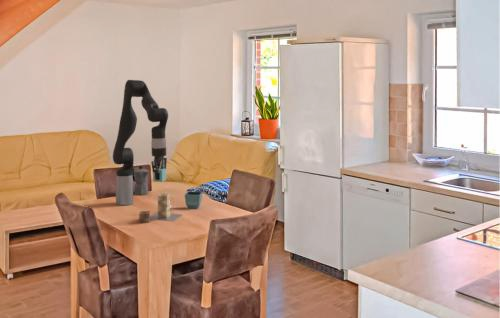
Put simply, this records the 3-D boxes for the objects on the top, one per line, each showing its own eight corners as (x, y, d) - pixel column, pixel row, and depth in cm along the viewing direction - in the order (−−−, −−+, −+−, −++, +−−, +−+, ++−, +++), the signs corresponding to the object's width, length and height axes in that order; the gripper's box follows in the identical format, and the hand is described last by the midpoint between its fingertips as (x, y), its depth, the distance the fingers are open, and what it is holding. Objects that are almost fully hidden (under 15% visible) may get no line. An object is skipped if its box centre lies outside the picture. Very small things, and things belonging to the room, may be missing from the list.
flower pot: (202, 206, 318) (202, 191, 317) (199, 210, 310) (199, 195, 308) (187, 206, 319) (187, 191, 318) (184, 210, 311) (184, 194, 309)
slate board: (144, 221, 287) (144, 219, 286) (155, 214, 300) (155, 212, 300) (173, 223, 283) (173, 221, 282) (183, 216, 296) (183, 214, 296)
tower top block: (158, 206, 288) (157, 195, 287) (160, 204, 293) (160, 193, 292) (167, 207, 288) (167, 195, 287) (169, 204, 292) (169, 193, 292)
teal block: (153, 181, 286) (153, 169, 285) (157, 179, 291) (157, 168, 290) (162, 181, 285) (161, 170, 284) (166, 179, 289) (165, 168, 288)
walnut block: (139, 225, 280) (139, 213, 279) (140, 222, 285) (140, 211, 284) (149, 224, 280) (149, 213, 279) (150, 222, 285) (149, 211, 284)
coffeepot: (154, 193, 352) (153, 166, 350) (143, 196, 345) (142, 168, 342) (137, 190, 361) (136, 163, 358) (126, 193, 354) (125, 165, 351)
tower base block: (157, 217, 289) (157, 206, 288) (161, 215, 294) (161, 204, 293) (166, 218, 288) (166, 207, 287) (170, 215, 293) (170, 204, 292)
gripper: (158, 144, 293) (159, 176, 295) (146, 148, 279) (147, 181, 282) (171, 145, 291) (171, 176, 293) (159, 148, 277) (160, 181, 280)
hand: (159, 178), depth 287 cm, fingers closed on teal block, 5 cm apart
